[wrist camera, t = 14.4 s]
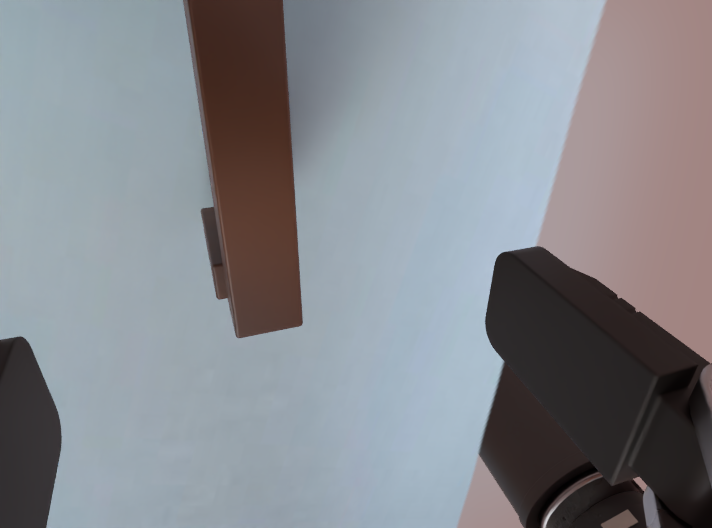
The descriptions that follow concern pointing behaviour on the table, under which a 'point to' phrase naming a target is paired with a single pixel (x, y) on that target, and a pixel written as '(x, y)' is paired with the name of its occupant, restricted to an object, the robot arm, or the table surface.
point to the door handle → (247, 160)
